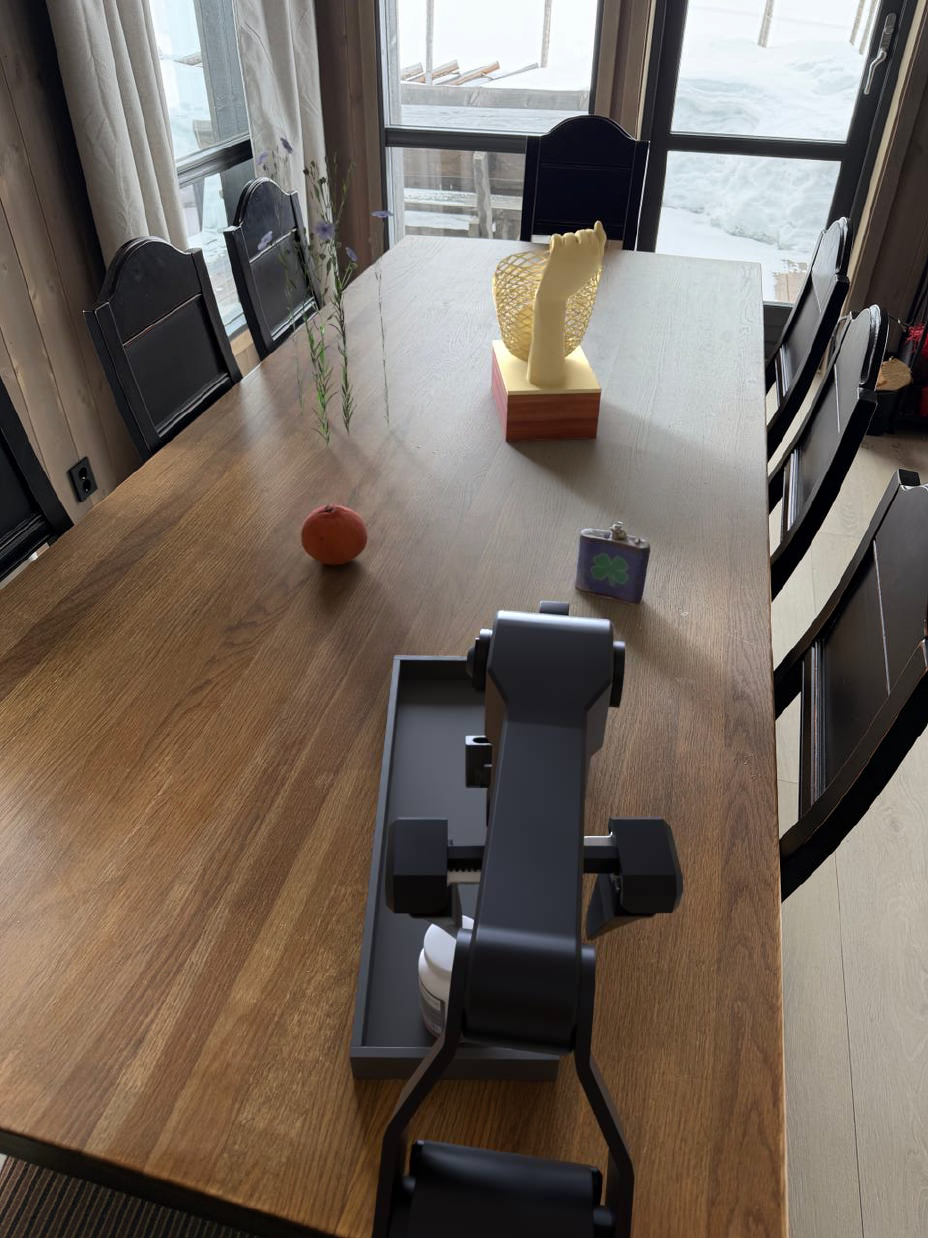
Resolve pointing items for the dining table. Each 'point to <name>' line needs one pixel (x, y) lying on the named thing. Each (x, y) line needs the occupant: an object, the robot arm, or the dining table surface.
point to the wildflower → (326, 235)
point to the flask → (612, 564)
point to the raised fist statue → (548, 342)
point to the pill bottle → (437, 976)
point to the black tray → (392, 943)
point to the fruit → (333, 534)
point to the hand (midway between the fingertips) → (524, 934)
